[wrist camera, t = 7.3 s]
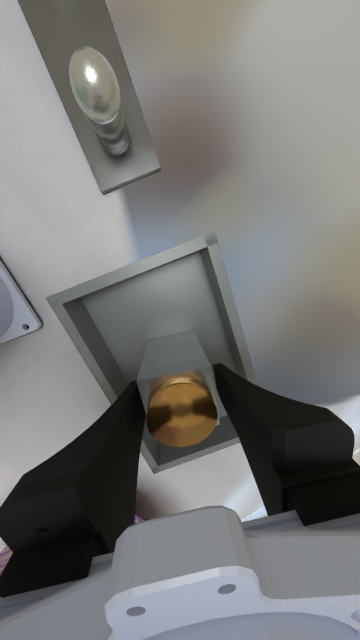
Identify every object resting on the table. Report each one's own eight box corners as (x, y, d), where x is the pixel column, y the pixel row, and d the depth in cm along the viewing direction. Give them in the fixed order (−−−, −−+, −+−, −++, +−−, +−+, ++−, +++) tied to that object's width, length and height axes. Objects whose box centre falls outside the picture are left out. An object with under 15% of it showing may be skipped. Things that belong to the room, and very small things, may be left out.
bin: (155, 442, 18) (153, 473, 15) (71, 292, 13) (45, 297, 11) (254, 406, 18) (271, 431, 15) (204, 240, 13) (214, 230, 10)
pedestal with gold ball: (158, 377, 16) (152, 456, 9) (148, 338, 14) (132, 395, 8) (200, 369, 16) (225, 440, 9) (193, 329, 15) (216, 377, 8)
